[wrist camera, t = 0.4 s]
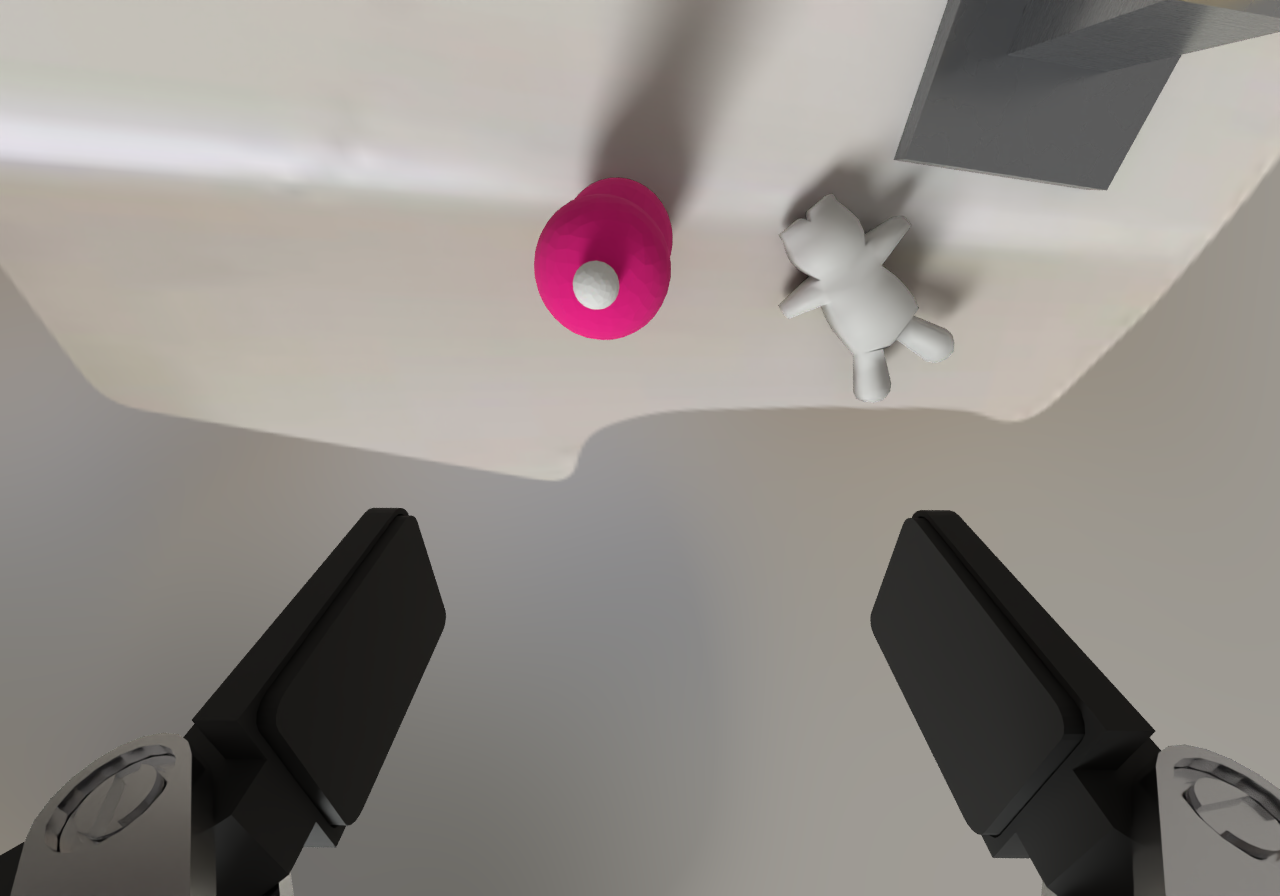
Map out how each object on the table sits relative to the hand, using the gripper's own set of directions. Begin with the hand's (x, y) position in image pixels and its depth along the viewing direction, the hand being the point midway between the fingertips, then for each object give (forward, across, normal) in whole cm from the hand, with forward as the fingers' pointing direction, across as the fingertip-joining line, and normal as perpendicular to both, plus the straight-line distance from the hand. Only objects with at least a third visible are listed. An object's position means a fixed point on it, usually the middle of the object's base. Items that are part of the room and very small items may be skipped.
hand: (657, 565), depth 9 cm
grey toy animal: (+31, -16, +1) cm, 35 cm away
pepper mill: (+31, +2, -3) cm, 31 cm away
